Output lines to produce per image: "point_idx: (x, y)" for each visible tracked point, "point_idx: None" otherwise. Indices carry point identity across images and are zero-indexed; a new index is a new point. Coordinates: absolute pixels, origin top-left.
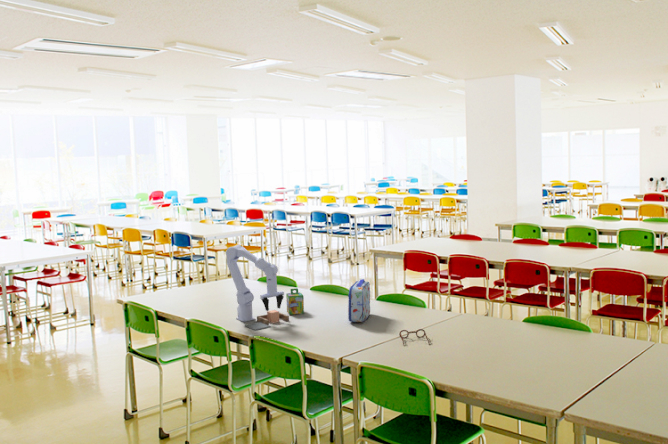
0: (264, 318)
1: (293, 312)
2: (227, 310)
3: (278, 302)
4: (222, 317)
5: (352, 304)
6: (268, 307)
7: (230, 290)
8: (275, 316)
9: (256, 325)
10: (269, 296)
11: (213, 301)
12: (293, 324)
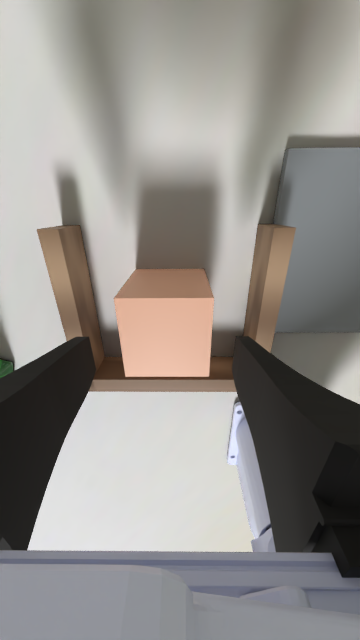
0: (261, 308)
1: None
2: (233, 546)
3: (53, 405)
4: None
5: None
6: (251, 352)
7: None
8: (165, 282)
9: (348, 264)
10: (293, 601)
11: None
12: (59, 66)
